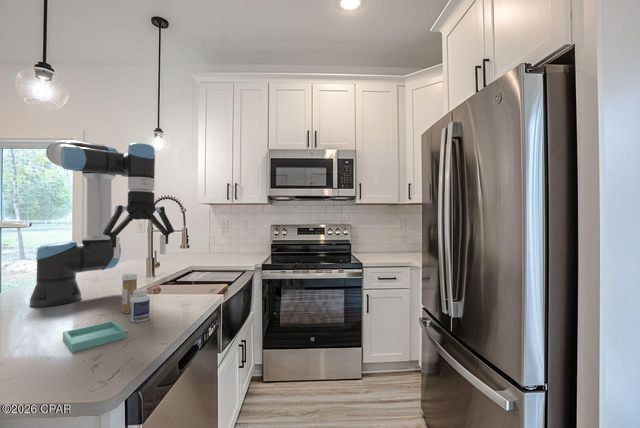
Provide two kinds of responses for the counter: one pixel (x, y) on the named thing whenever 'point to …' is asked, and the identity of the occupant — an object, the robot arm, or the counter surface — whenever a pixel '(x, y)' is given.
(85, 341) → the tray
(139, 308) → the pill bottle
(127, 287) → the sprinkles bottle
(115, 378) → the counter surface
